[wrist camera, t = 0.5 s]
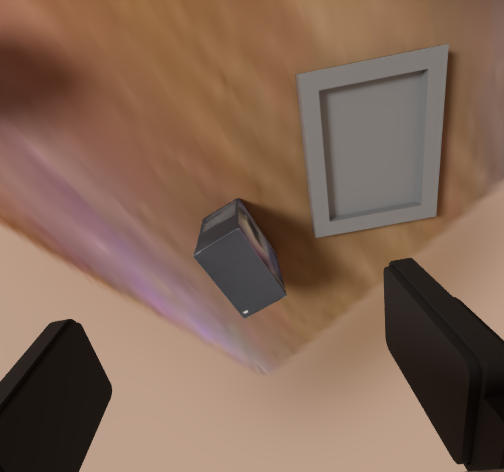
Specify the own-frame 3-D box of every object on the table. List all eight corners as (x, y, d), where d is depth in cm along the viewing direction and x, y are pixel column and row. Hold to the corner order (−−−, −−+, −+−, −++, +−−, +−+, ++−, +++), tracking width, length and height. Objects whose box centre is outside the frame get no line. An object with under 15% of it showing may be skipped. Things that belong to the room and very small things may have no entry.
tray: (295, 74, 37) (298, 74, 35) (437, 45, 36) (448, 43, 34) (312, 231, 45) (316, 237, 44) (427, 210, 45) (436, 216, 43)
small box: (280, 253, 47) (290, 297, 37) (242, 274, 48) (243, 322, 39) (240, 195, 43) (240, 227, 33) (200, 219, 44) (189, 257, 35)
